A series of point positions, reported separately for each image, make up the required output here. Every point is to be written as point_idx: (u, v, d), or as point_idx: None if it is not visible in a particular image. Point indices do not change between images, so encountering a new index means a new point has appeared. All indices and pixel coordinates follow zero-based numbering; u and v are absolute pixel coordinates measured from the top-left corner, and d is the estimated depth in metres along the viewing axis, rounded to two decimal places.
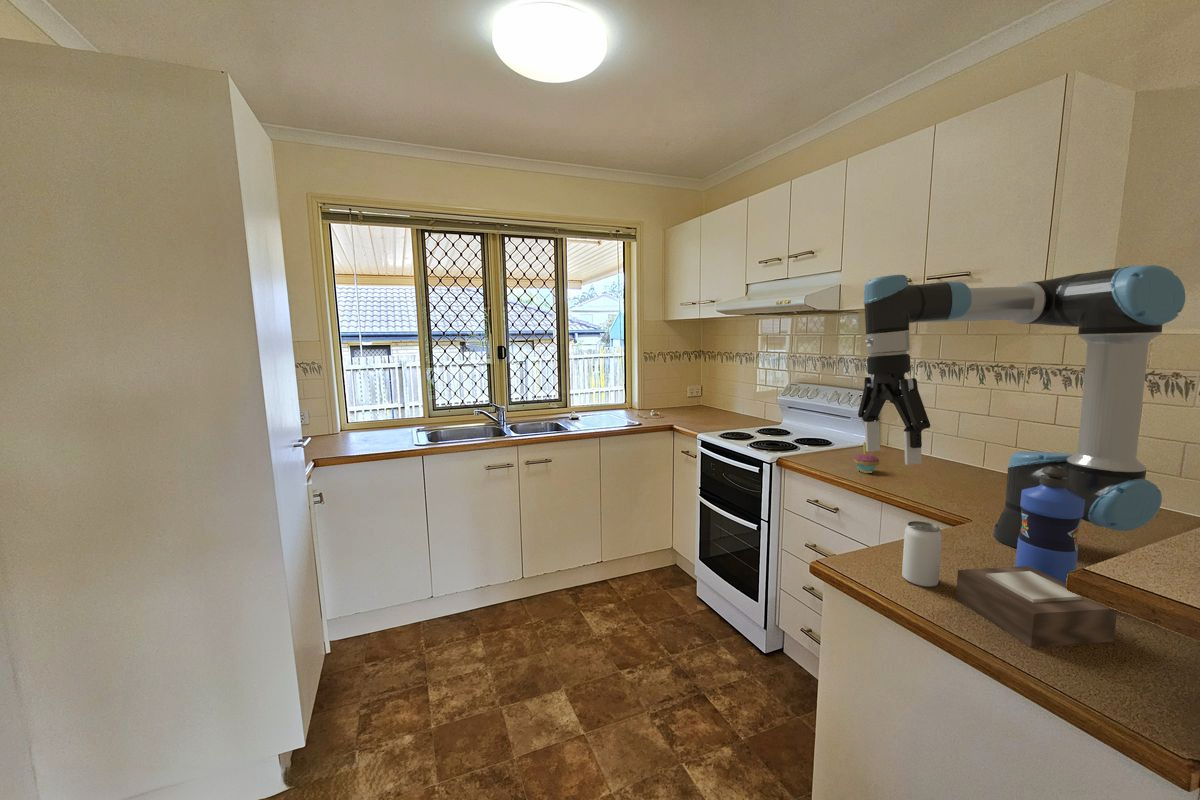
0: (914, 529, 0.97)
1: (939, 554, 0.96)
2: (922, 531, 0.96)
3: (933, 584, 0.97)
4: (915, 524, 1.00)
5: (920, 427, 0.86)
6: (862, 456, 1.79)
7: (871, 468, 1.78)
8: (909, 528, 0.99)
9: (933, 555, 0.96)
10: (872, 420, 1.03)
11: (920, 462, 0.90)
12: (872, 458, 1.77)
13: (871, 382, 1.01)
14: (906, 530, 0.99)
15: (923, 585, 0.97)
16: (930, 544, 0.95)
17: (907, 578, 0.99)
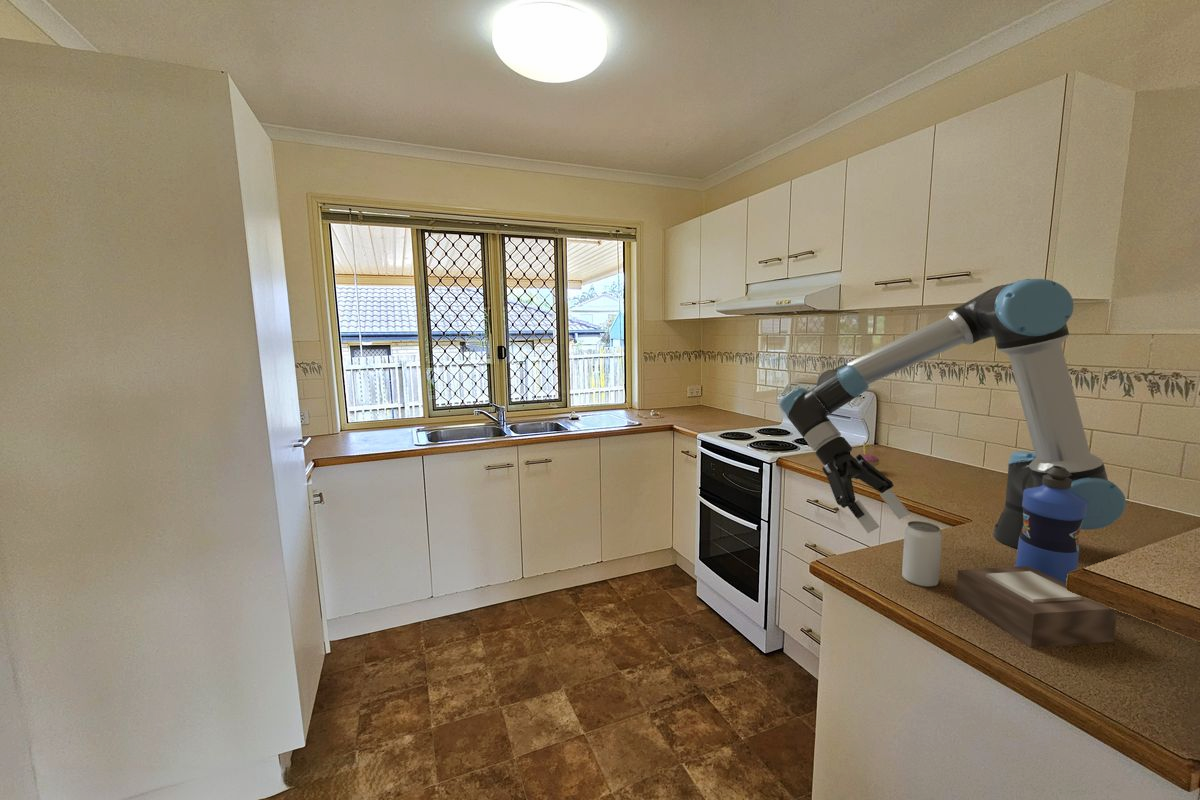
0: (914, 529, 0.97)
1: (939, 554, 0.96)
2: (922, 531, 0.96)
3: (933, 584, 0.97)
4: (915, 524, 1.00)
5: (840, 503, 1.02)
6: (862, 456, 1.79)
7: None
8: (909, 528, 0.99)
9: (933, 555, 0.96)
10: (885, 490, 1.10)
11: (876, 526, 0.99)
12: (872, 457, 1.77)
13: None
14: (906, 530, 0.99)
15: (923, 585, 0.97)
16: (930, 544, 0.95)
17: (907, 578, 0.99)
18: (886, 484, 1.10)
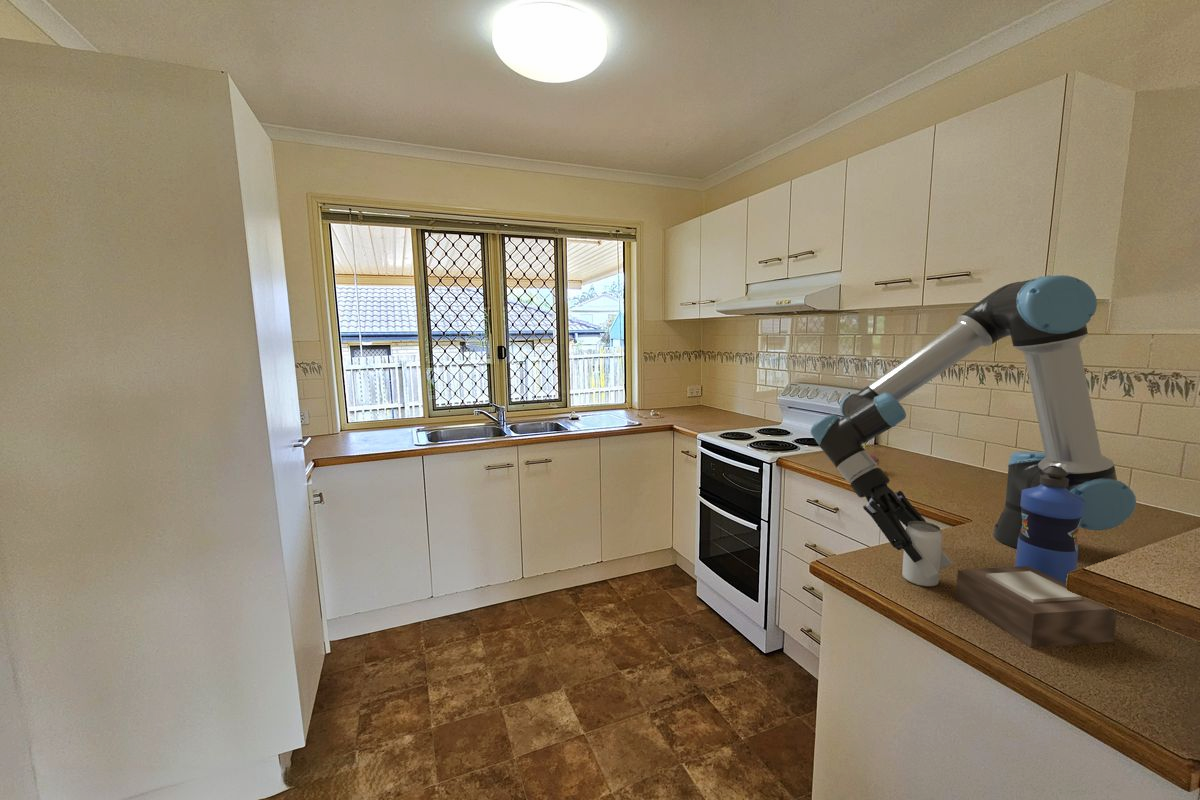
0: (914, 529, 0.97)
1: (939, 554, 0.96)
2: (922, 531, 0.96)
3: (933, 584, 0.97)
4: (915, 524, 1.00)
5: (896, 545, 0.97)
6: None
7: None
8: (909, 528, 0.99)
9: (933, 555, 0.96)
10: None
11: (936, 572, 0.94)
12: (872, 458, 1.77)
13: None
14: (906, 530, 0.99)
15: (923, 585, 0.97)
16: (930, 543, 0.96)
17: (907, 578, 0.99)
18: None
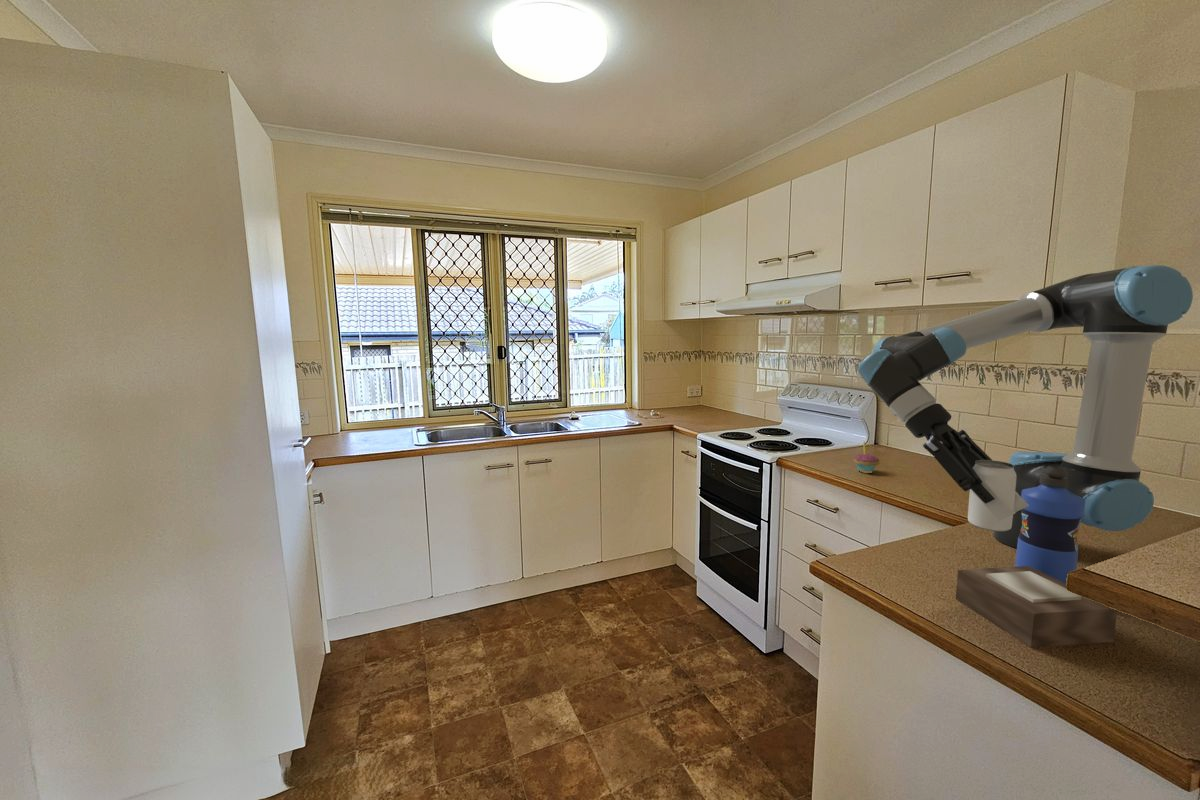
0: (984, 467, 0.86)
1: (1013, 494, 0.85)
2: (994, 468, 0.85)
3: (1006, 528, 0.85)
4: (983, 462, 0.89)
5: (963, 485, 0.86)
6: (862, 456, 1.79)
7: (871, 468, 1.78)
8: (977, 466, 0.88)
9: (1006, 495, 0.85)
10: None
11: (1011, 513, 0.82)
12: (872, 458, 1.77)
13: None
14: (973, 469, 0.88)
15: (994, 529, 0.86)
16: (1003, 482, 0.84)
17: (975, 523, 0.88)
18: None
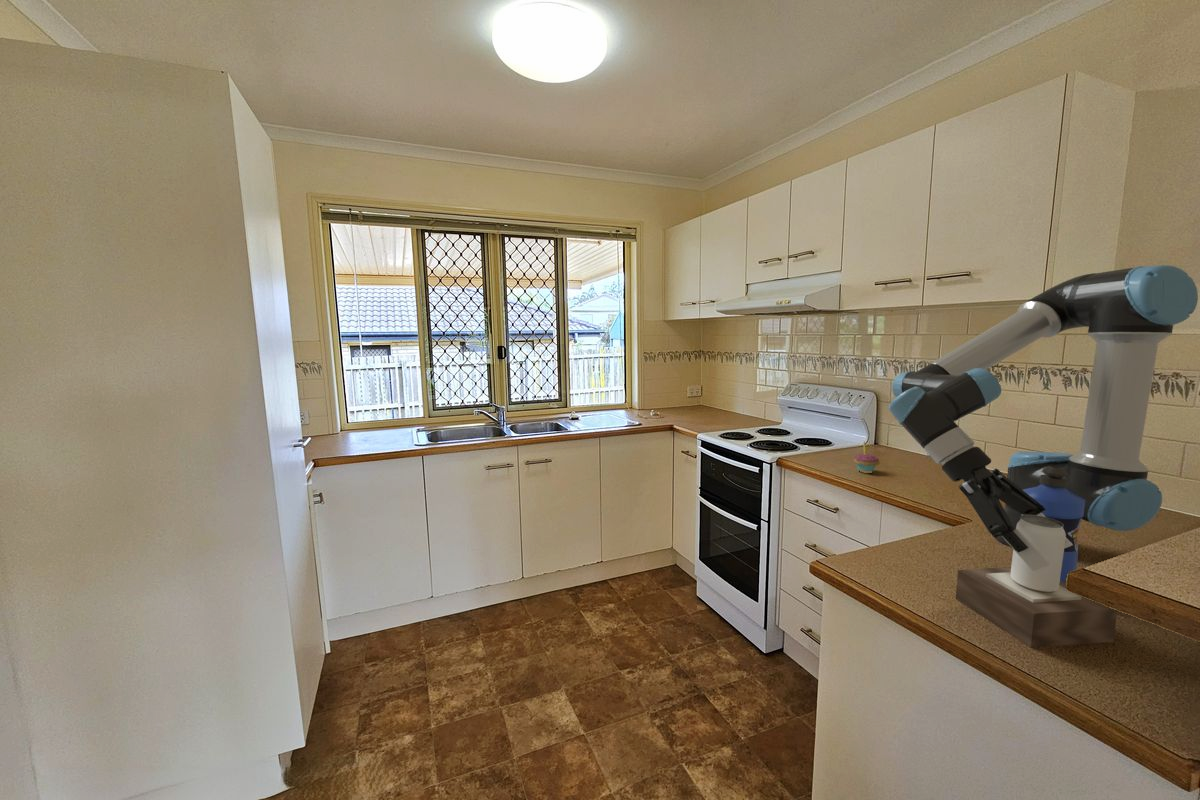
0: (1031, 524, 0.82)
1: (1062, 554, 0.81)
2: (1042, 527, 0.81)
3: (1053, 589, 0.82)
4: (1029, 518, 0.85)
5: (994, 532, 0.81)
6: (862, 456, 1.79)
7: (871, 468, 1.78)
8: (1024, 523, 0.84)
9: (1055, 555, 0.81)
10: (1034, 514, 0.89)
11: (1047, 563, 0.78)
12: (872, 458, 1.77)
13: None
14: (1019, 525, 0.84)
15: (1041, 590, 0.82)
16: (1052, 541, 0.80)
17: (1019, 581, 0.84)
18: (1035, 507, 0.89)
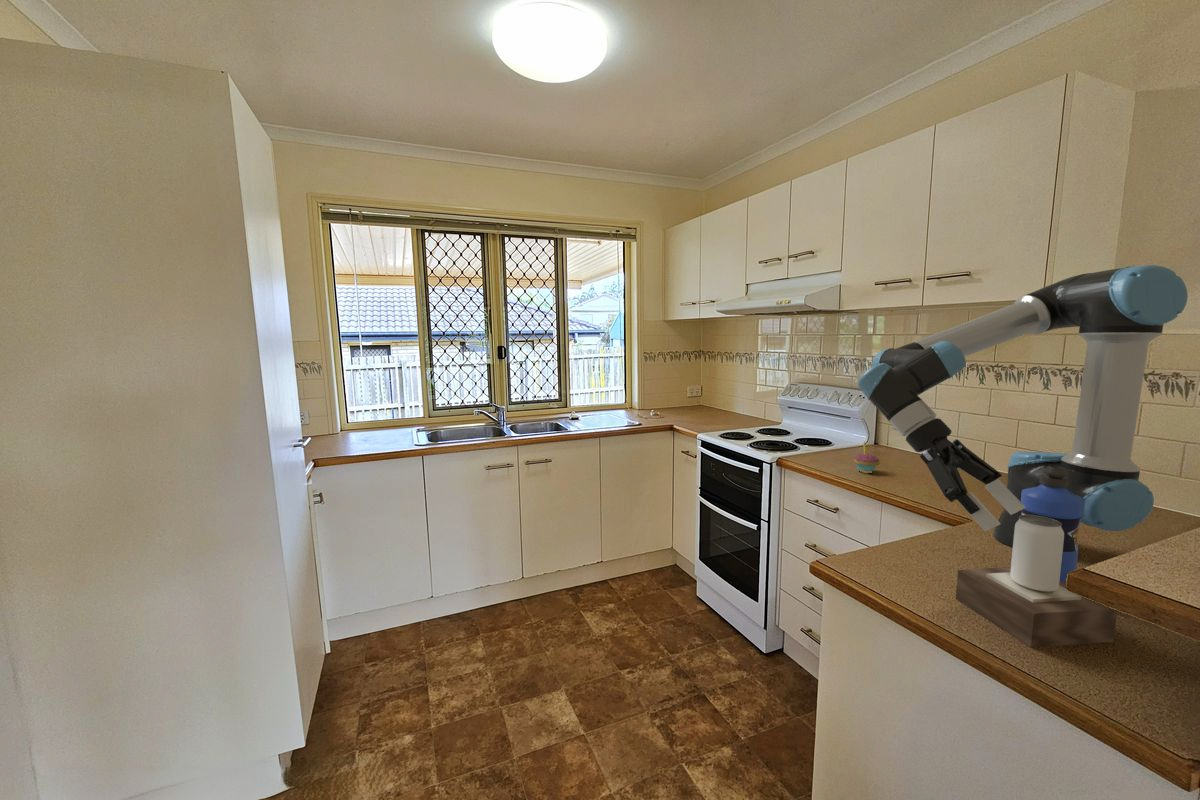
0: (1029, 523, 0.83)
1: (1061, 553, 0.81)
2: (1040, 526, 0.81)
3: (1053, 589, 0.82)
4: (1027, 518, 0.85)
5: (949, 496, 0.85)
6: (862, 456, 1.79)
7: (871, 468, 1.78)
8: (1022, 522, 0.84)
9: (1054, 554, 0.81)
10: (991, 480, 0.94)
11: (997, 524, 0.82)
12: (872, 458, 1.77)
13: None
14: (1018, 525, 0.85)
15: (1041, 590, 0.82)
16: (1050, 541, 0.81)
17: (1019, 581, 0.84)
18: (992, 473, 0.94)
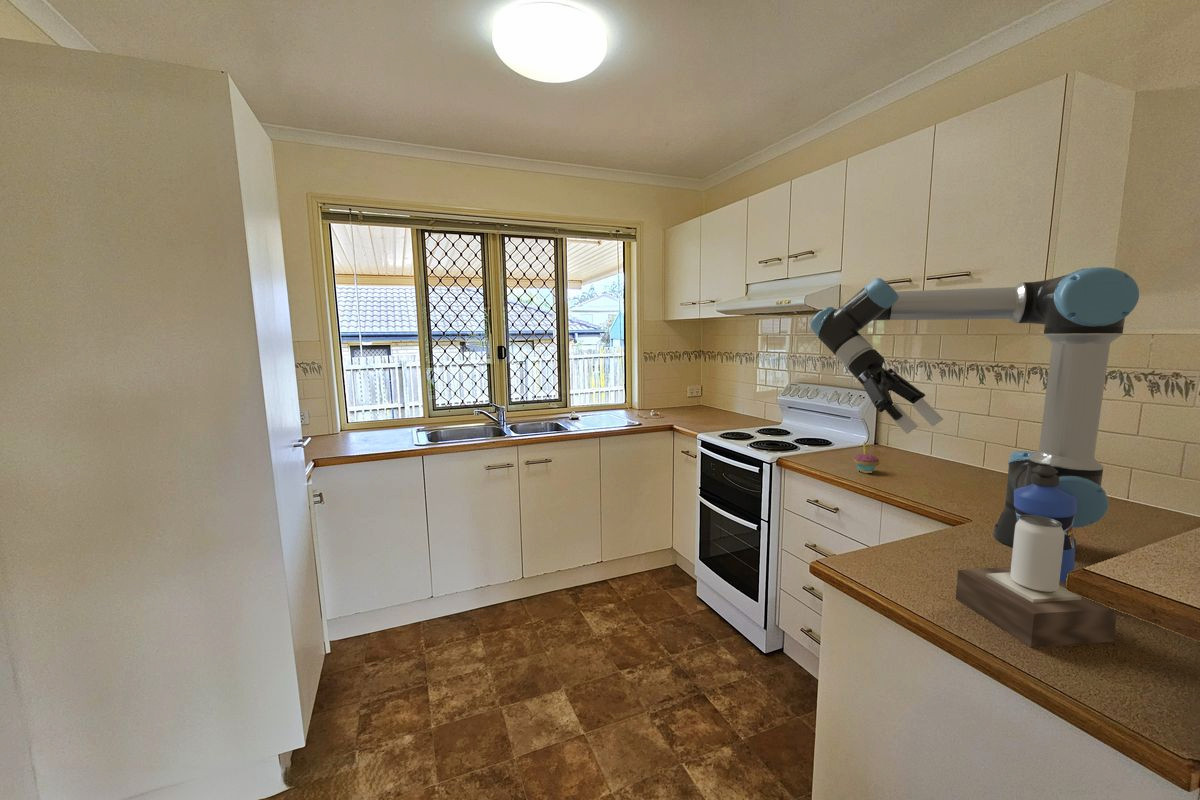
0: (1030, 524, 0.83)
1: (1061, 554, 0.81)
2: (1040, 526, 0.81)
3: (1053, 589, 0.82)
4: (1028, 518, 0.85)
5: (878, 406, 1.04)
6: (862, 456, 1.79)
7: (871, 468, 1.78)
8: (1022, 522, 0.84)
9: (1054, 554, 0.81)
10: (917, 400, 1.13)
11: (915, 426, 1.01)
12: (872, 458, 1.77)
13: None
14: (1018, 525, 0.85)
15: (1041, 590, 0.82)
16: (1051, 541, 0.81)
17: (1019, 581, 0.84)
18: (918, 394, 1.13)
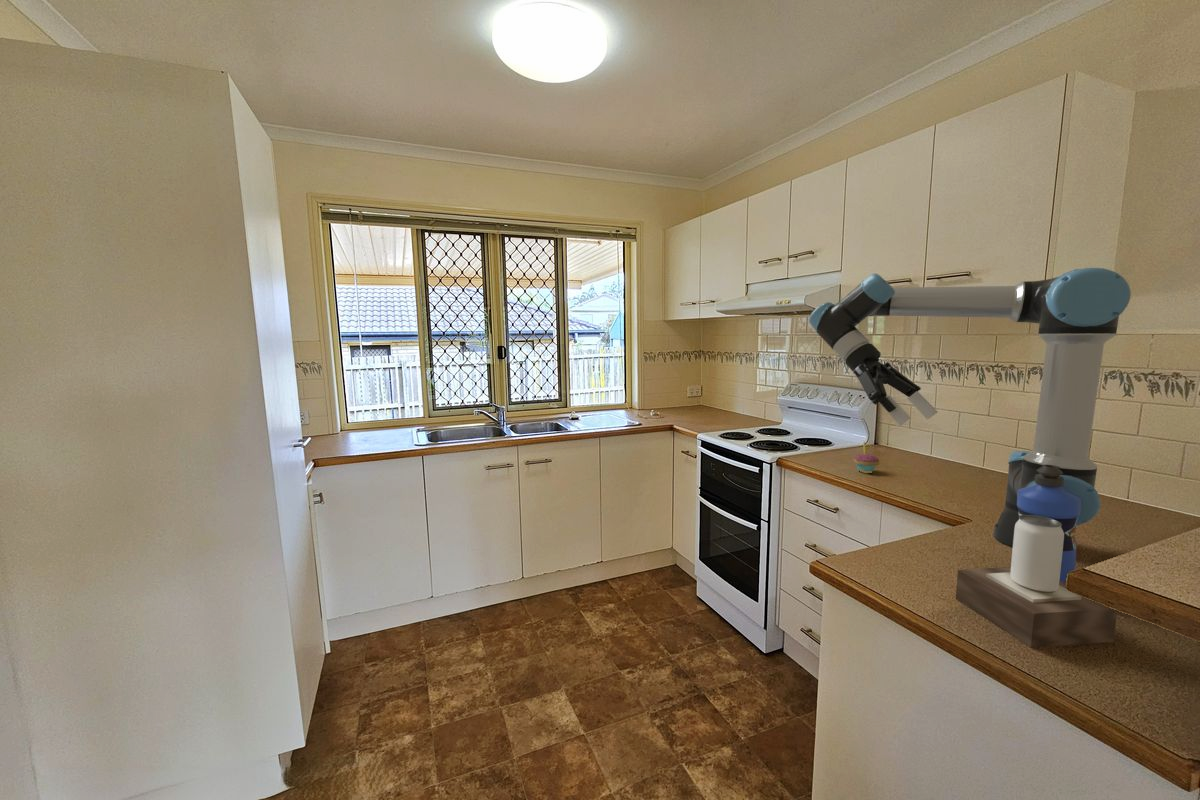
0: (1029, 524, 0.83)
1: (1061, 554, 0.81)
2: (1040, 526, 0.81)
3: (1053, 589, 0.82)
4: (1027, 518, 0.85)
5: (872, 398, 1.07)
6: (862, 456, 1.79)
7: (871, 468, 1.78)
8: (1022, 523, 0.84)
9: (1054, 554, 0.81)
10: (913, 393, 1.15)
11: (907, 417, 1.04)
12: (872, 458, 1.77)
13: None
14: (1017, 525, 0.85)
15: (1041, 590, 0.82)
16: (1050, 541, 0.81)
17: (1019, 581, 0.84)
18: (914, 387, 1.15)
